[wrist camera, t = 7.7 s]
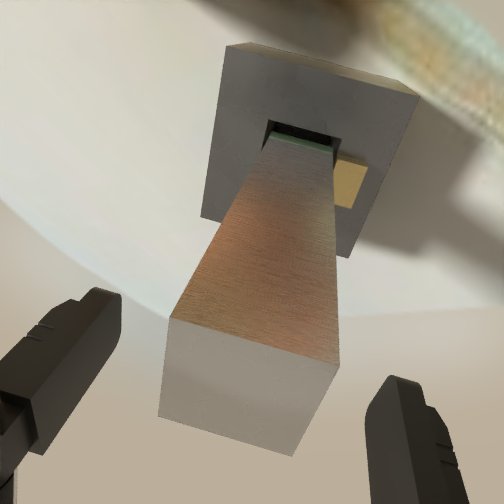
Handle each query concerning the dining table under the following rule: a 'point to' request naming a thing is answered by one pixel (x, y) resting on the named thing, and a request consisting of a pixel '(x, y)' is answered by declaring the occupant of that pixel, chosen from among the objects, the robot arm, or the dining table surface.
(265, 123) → the base
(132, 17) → the dining table surface
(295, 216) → the column
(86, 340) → the robot arm
